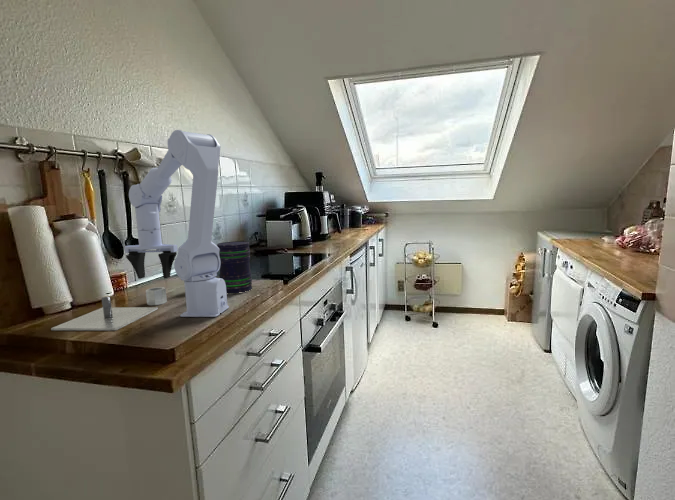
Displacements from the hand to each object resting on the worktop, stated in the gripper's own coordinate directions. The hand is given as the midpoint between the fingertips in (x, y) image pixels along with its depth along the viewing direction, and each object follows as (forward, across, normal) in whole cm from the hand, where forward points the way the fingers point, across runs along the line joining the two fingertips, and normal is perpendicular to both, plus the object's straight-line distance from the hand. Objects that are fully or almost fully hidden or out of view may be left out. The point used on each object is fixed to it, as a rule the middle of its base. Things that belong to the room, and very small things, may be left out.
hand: (154, 277), depth 104 cm
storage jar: (+7, -18, -14) cm, 24 cm away
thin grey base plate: (+7, +4, +14) cm, 16 cm away
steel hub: (+7, 0, 0) cm, 7 cm away
